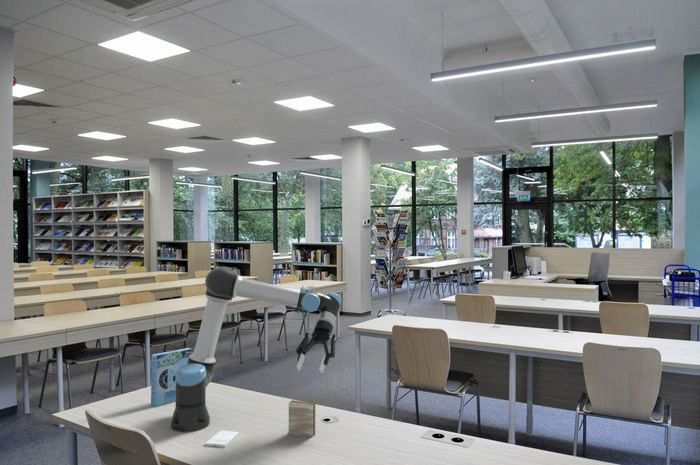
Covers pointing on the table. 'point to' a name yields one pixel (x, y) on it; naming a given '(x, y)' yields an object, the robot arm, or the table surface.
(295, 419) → the walnut tile
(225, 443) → the external hard drive
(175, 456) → the table surface
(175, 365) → the gum box
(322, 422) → the table surface
